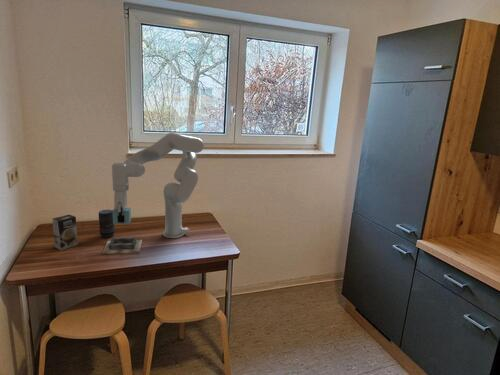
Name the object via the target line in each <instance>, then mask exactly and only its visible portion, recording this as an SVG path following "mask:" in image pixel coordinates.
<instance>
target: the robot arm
mask: <svg viewBox="0 0 500 375" xmlns="http://www.w3.org/2000/svg"><path fill="white" fill-rule="evenodd" d="M204 148H205V144H204V141H203V140H202V139H201V138H199V137H195V136H191V135H183V134H181V133H173V132H169V133H167V134H166V135H164V136H162V137H161V138H160V139H159V140H157V141H156V142H155V143H153V144H151V145H150V146H149V147H146V148H144V149H141V150H139V151H137V152H135V153H134V154H132V155H131V156H129V157H127V159H125V161H124V162H114V163H112V164H111V176H112V191H113V192H114V196H113V198H114V200H113V201H114V203H113V204H114V206H113V207H114V208H113V209H115V210H117V208H118V223H124V222H125V221H124V209H125V208H127V206H128V191H129V187H130V186H129V178H140V177H141V176H143V175H144V174H145V172H146V167H145V166H144V164H146V163H149V162H155V161H160V160H162V159H163V158H164V157H166V156H167V155H168V154H170V152H172V151H173V150H177V151H180V152H182V157H181V159H180V161H179V164H178V165H177V167H176V169H175V171H174V173H173V178H174V179H175V181H177V182H179V183H176V182H168V183H166V184H165V185H164V187H163V198H164V213H165V214H164V216H165V217H164V221H165V222H164V224H165V225H164V229H165V230H163V232H162V236H163V237H164V238H166V239H178V238H181V237H183V236H184V235H185V232H186V233H190V228H188V227H184V226H183V224H182V223H183V220H182V218H183V217H182V215H183V206H182V205H183V204H185V203H186V202H187V201H188V200H189V199H190V197H191V195H192V194H193V191H194V189H195V188H196V185H197V183H198V181H199V174H198V172H197V171H196V170H195V169H194V168H195V167H196V164H197V160H198V159H197V158H198V157H197V154H199V153H201V152H202V151H203V150H204ZM121 208H123V209H121ZM121 211H122V212H121Z"/></svg>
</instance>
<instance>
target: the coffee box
mask: <svg viewBox="0 0 500 375" xmlns="http://www.w3.org/2000/svg"><path fill="white" fill-rule="evenodd" d="M52 228H53V230H52V231H53V240H54V241H53V242H54V247H55V248H56V249H58V250H60V251H63V250H66V249H70V248H72V247H76V246H78V245H79V244H78V230H77V218H76V216H75V215H72V214H66V215H65V214H64V215H61V216H58V217H54V218H52Z"/></svg>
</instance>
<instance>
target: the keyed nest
mask: <svg viewBox="0 0 500 375" xmlns="http://www.w3.org/2000/svg"><path fill="white" fill-rule="evenodd" d="M142 244H143V239H137V237H111V239H110V240H107V242H106V244H105V246H104V248H103V250H102V255H104V254H106V255H107V254H109V255H110V254H133V253H134V254H136V253H137V254H138V253H140V251H141V248H142Z"/></svg>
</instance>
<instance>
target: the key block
mask: <svg viewBox="0 0 500 375" xmlns="http://www.w3.org/2000/svg"><path fill="white" fill-rule="evenodd" d="M121 209H123V208H121ZM112 210H113V224H114V225H118V224H119V225H120V224H121V225H123V224H126V225H127V224H128V225H129V224H130V223H131V221H132V211H131V210H132V208H131V207H126V208H125V209H124V221H125V222H124V223H118V208H117V210H115V209H114V208H113V209H112ZM121 212H122V211H121Z"/></svg>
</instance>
